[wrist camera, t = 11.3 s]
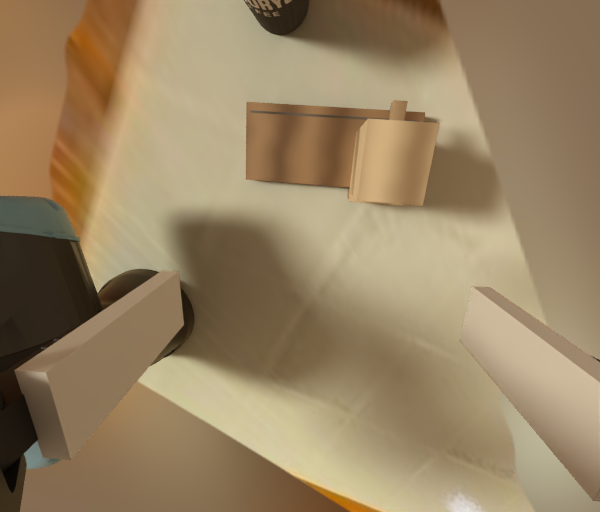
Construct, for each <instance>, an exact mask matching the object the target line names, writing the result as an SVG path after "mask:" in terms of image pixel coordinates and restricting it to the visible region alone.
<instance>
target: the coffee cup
mask: <svg viewBox="0 0 600 512" xmlns="http://www.w3.org/2000/svg"><path fill="white" fill-rule="evenodd" d="M244 1H245V3H246V4H247V6H248V7H249V9H250V10H251V12H252V13H253V14H254V16H255V17H256V19H257V20H258V22H259V23H260V24H261V26H262V27H263V28H264V29H266V30H267V31H268V32H270V33H273V34H277V35H284V34H288V33H290V32H292V31H294V30H295V29H297V28H298V27H299V26H300V24H301V23H302V22H303V20H304V18H305V16H306V14H307V10H308V6H309V0H244Z"/></svg>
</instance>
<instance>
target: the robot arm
mask: <svg viewBox="0 0 600 512" xmlns="http://www.w3.org/2000/svg"><path fill="white" fill-rule="evenodd" d="M79 242H80V238H79V237H78V236H76V233H75V231H74V229H73V227H72V225H71V222H70V220H69V218H68V215H67V213H66V211H65V209H64V208H63V207H62V206H61V205H60V204H58V203H57V202H55V201H53V200H50V199H47V198H41V197H28V196H0V512H20V505H21V499H22V493H23V486H24V480H25V473H26V469H36V468H43V467H47V466H50V465H52V464H55V463H57V462H59V461H60V460H62V459H65V460H71V459H72V458H73V457H74V456H75V455H76V454H77V452H78V451H79V450H80V449H81V448H82V446H83V445H84V444H85V443H86V442H87V440H88V439H89V438H90V437H91V436H92V434H93V433H94V432H95V431H96V430H97V428H98V427H99V426H100V425H101V424H102V422H103V421H104V420H105V419H106V417H107V416H108V415H109V414H110V413H111V412H112V410H113V409H114V408H115V407H116V405H117V404H118V403H119V402H120V401H121V400H122V398H123V397H124V396H125V395H126V394H127V392H128V391H129V390H130V389H131V387H132V386H133V385H134V384H135V383H136V382H137V380H138V379H139V378H140V377H141V376H142V374H143V373H144V372H145V371H146V370H147V368H148V367H149V366H151V365H153V364H155V363H157V362H158V361H160V360H161V359H163V358H165V357H167V356H169V355H171V354H173V353H174V352H176V351H177V350H178V349H179V348H180V347H181V346H182V345H183V343H184V342H185V341H186V340H187V339H188V337H189V336H190V334H191V332H192V329H193V324H194V314H193V309H192V306H191V303H190V301H189V299H188V297H187V296H186V294H185V293H184V291H183V290H182V289H181V288H180V280H179V271H161V272H159V273H158V272H155V271H151V270H145V269H135V270H130V271H126V272H124V273H122V274H120V275H118V276H116V277H114V278H113V279H111V280H109V281H108V282H107V283H106V284H105V285H104V286H103V287H102V288H101V289H100V291H99V293H98V294H97V291H96V288H95V286H94V283H93V280H92V278H91V275H90V272H89V269H88V266H87V263H86V261H85V258H84V255H83V252H82V249H81V246H80V243H79ZM459 341H460V342H461V343H462V344H463V346H464V347H465V348H466V349H467V350H468V351H469V353H470V354H471V355H472V356H473V357H474V359H475V360H476V361H477V362H478V363H479V365H480V366H481V367H482V368H483V369H484V371H485V372H486V373H487V374H488V375H489V377H490V378H491V379H492V380H493V381H494V383H495V384H496V385H497V386H498V387H499V389H500V390H501V391H502V392H503V393H504V394H505V396H506V397H507V398H508V399H509V401H510V402H511V403H512V404H513V405H514V407H515V408H516V409H517V410H518V411H519V413H520V414H521V415H522V416H523V417H524V418H525V420H526V421H527V422H528V423H529V424H530V426H531V427H532V428H533V429H534V430H535V432H536V433H537V434H538V435H539V436H540V438H541V439H542V440H543V441H544V442H545V444H546V445H547V446H548V447H549V448H550V450H551V451H552V452H553V453H554V454H555V455H556V457H557V458H558V459H559V460H560V462H561V463H562V464H563V465H564V466H565V468H566V469H567V470H568V471H569V472H570V474H571V475H572V476H573V477H574V478H575V480H576V481H577V482H578V483H579V484H580V485H581V487H582V488H583V489H584V490H585V492H586V493H587V494H588V495H589V496H590V497H591V499H592V500H593V501H600V360H599V359H596V358H594V357H592V356H590V355H589V354H587V353H586V352H584V351H583V350H581V349H580V348H578V347H577V346H575V345H574V344H572V343H571V342H569V341H568V340H567V339H565V338H564V337H562V336H561V335H559V334H558V333H556V332H555V331H553V330H552V329H550V328H549V327H548V326H546V325H545V324H543V323H542V322H540V321H539V320H537V319H536V318H534V317H533V316H531V315H530V314H528V313H527V312H526V311H524V310H523V309H521V308H520V307H518V306H517V305H515V304H514V303H512V302H511V301H509V300H508V299H507V298H505V297H504V296H502V295H501V294H499V293H498V292H496V291H495V290H493V289H492V288H490V287H473V286H472V290H471V294H470V298H469V303H468V307H467V311H466V315H465V319H464V324H463V328H462V332H461V336H460V340H459Z"/></svg>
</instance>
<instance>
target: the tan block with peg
mask: <svg viewBox="0 0 600 512" xmlns="http://www.w3.org/2000/svg"><path fill="white" fill-rule="evenodd" d="M406 107H407V101H397V100H394V101H393V102H392V103H391V108H390V115H389V120H383V119H367V120H366V122H365V123H364V124H363V125H362V126H361V127H360V129H359V130H358V131H357V132H356V140H355V149H354V157H353V165H352V173H351V182H350V190H348V199H349V200H350V202H360V203H372V204H385V205H397V206H403V204H405V205H418V206H423V202H424V197H425V192H426V187H427V182H428V177H429V173H430V168H431V163H432V158H433V153H434V148H435V143H436V138H437V133H438V128H439V124H440V123H432V122H416V121H404V119H405V113H406Z"/></svg>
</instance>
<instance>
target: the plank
mask: <svg viewBox="0 0 600 512" xmlns="http://www.w3.org/2000/svg"><path fill="white" fill-rule="evenodd" d="M389 115H390V111H389V110H373V109H356V108H339V107H322V106H305V105H288V104H272V103H255V102H247V123H246V179H248V180H261V181H274V182H286V183H299V184H312V185H325V186H338V187H350V182H351V173H352V165H353V157H354V149H355V140H356V132H357V131H358V130H359V129H360V127H361V126H362V125H363V124H364V123H365V122H366V120H367V119H383V120H389ZM424 117H425V113H423V112H406V113H405V119H404V121H416V122H424Z"/></svg>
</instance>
